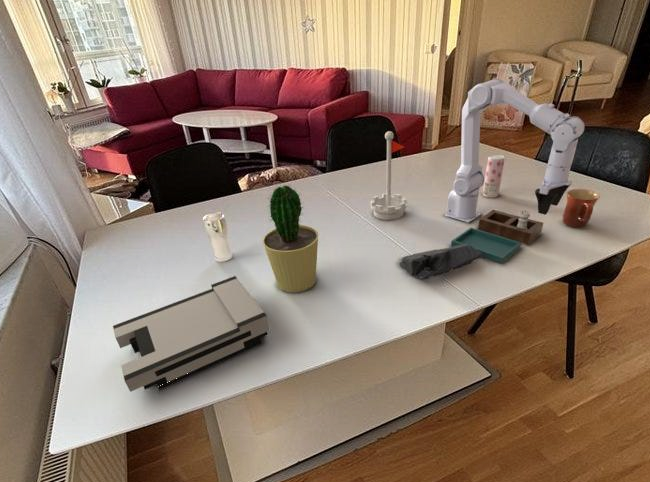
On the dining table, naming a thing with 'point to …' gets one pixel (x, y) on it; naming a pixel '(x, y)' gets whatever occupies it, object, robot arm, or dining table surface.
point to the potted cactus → (290, 243)
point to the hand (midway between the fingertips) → (547, 209)
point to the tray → (488, 244)
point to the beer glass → (218, 235)
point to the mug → (579, 207)
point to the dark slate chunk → (439, 260)
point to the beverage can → (493, 176)
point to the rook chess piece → (523, 219)
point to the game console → (191, 335)
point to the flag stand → (389, 189)
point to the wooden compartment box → (509, 227)
